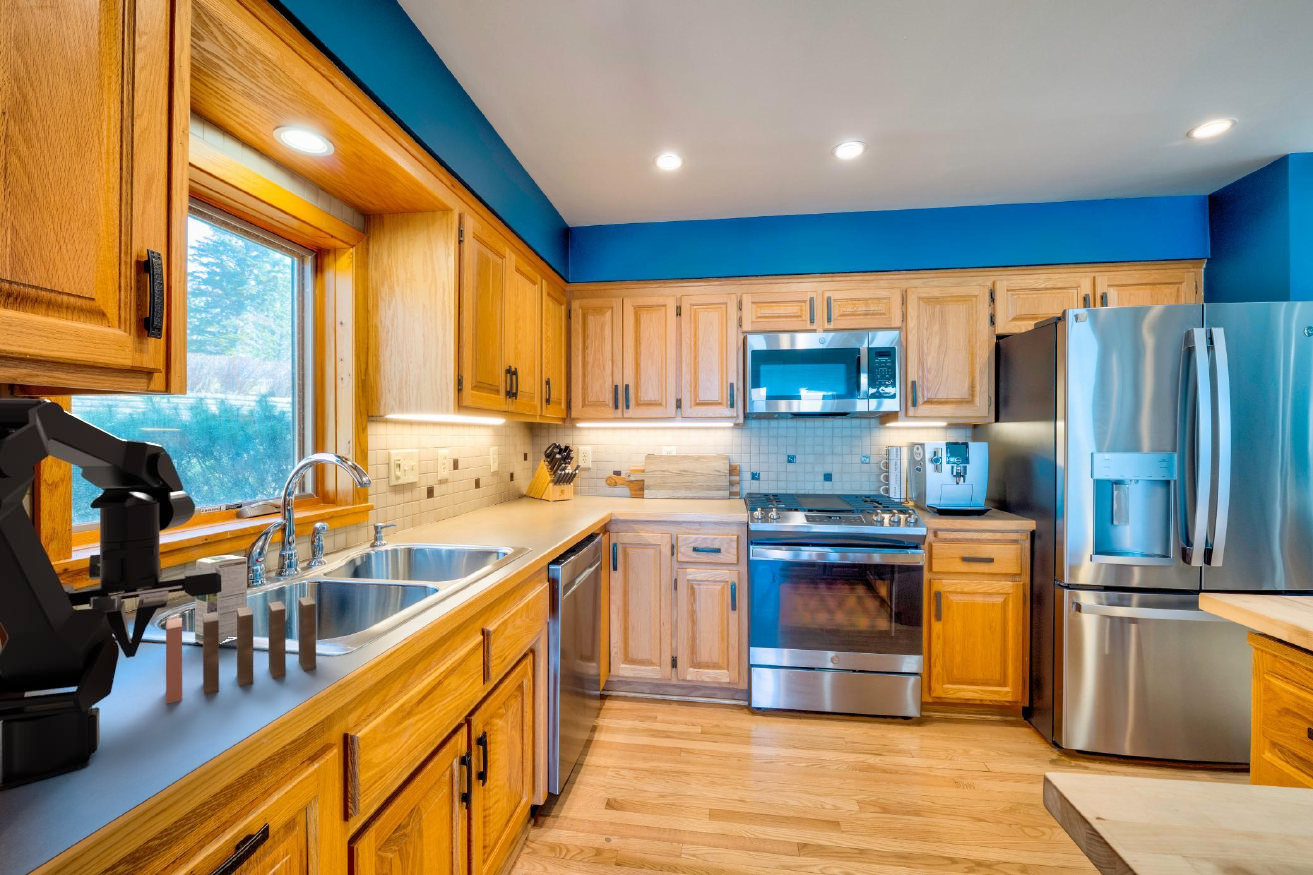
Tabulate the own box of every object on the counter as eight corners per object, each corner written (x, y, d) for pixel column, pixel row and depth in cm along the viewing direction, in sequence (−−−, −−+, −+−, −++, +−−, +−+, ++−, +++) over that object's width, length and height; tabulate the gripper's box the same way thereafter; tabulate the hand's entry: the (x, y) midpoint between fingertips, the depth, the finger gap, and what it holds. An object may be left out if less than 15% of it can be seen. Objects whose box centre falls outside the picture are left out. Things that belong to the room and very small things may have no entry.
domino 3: (239, 686, 78) (239, 616, 78) (236, 675, 82) (236, 608, 82) (253, 683, 79) (253, 614, 79) (250, 672, 83) (250, 606, 83)
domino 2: (204, 695, 75) (203, 622, 76) (203, 683, 79) (202, 614, 79) (218, 691, 77) (218, 620, 77) (217, 679, 80) (217, 611, 80)
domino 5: (303, 671, 83) (303, 605, 83) (298, 661, 87) (298, 598, 87) (316, 668, 84) (315, 603, 84) (310, 658, 88) (310, 596, 88)
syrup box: (193, 642, 95) (193, 559, 95) (232, 632, 101) (232, 553, 101) (209, 648, 93) (209, 562, 93) (248, 637, 98) (248, 556, 98)
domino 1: (166, 704, 73) (166, 629, 73) (167, 691, 77) (166, 619, 77) (181, 700, 74) (181, 626, 74) (182, 687, 78) (182, 617, 78)
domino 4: (272, 678, 81) (272, 610, 81) (268, 668, 84) (268, 603, 84) (285, 675, 82) (285, 608, 82) (281, 665, 85) (280, 601, 85)
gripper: (217, 524, 85) (217, 625, 85) (37, 539, 73) (37, 657, 72) (221, 533, 76) (221, 645, 76) (18, 552, 64) (18, 685, 64)
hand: (130, 656), depth 73 cm, fingers closed
